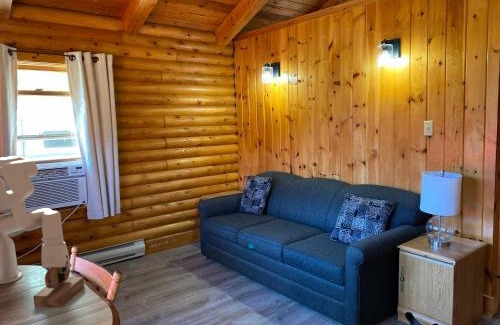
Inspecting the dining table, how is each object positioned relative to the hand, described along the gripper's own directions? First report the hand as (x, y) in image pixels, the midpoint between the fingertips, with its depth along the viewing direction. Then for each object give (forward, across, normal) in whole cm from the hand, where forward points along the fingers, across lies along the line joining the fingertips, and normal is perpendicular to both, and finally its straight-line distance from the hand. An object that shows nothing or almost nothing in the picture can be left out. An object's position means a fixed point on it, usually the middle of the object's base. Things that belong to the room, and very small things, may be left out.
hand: (58, 281), depth 173 cm
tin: (+1, 0, 0) cm, 1 cm away
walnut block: (+7, 0, 0) cm, 7 cm away
